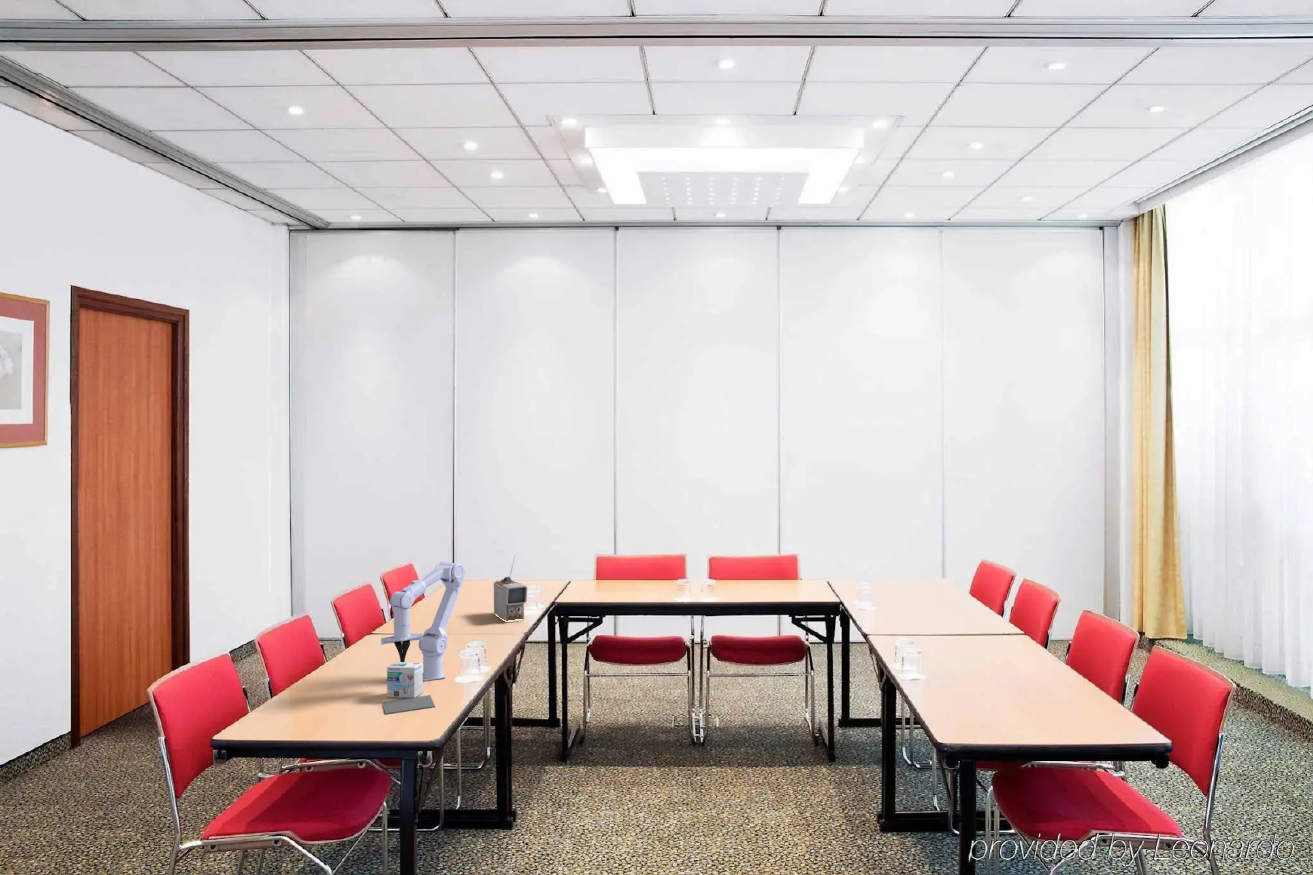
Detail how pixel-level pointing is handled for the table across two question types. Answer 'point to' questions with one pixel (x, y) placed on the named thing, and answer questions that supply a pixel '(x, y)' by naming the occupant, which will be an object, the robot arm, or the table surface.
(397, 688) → the light bulb box
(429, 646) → the robot arm
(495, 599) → the portable television
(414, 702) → the mat
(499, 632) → the table surface
